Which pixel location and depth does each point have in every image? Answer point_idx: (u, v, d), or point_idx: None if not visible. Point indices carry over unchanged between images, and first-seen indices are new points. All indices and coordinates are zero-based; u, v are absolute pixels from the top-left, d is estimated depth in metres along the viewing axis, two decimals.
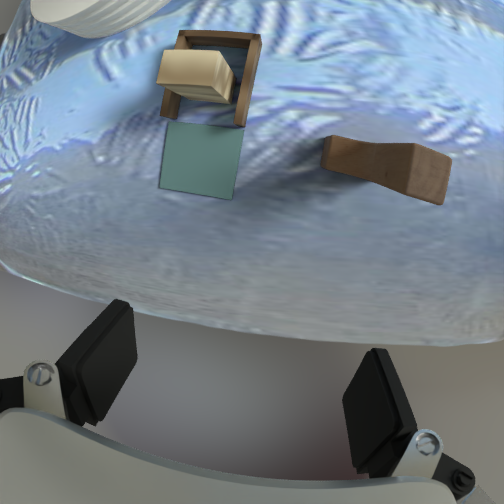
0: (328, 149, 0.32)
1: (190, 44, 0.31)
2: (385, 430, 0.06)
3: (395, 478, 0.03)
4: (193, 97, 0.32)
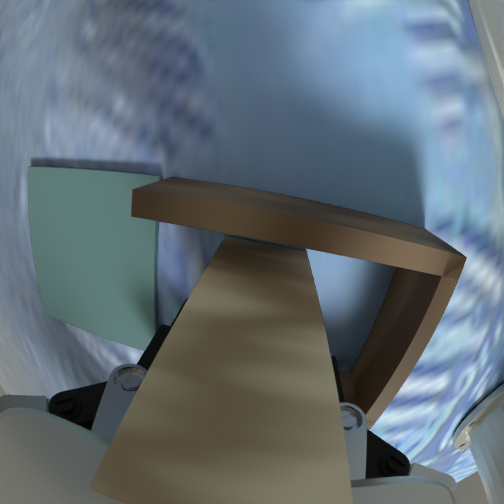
0: None
1: None
2: None
3: (395, 478, 0.03)
4: None
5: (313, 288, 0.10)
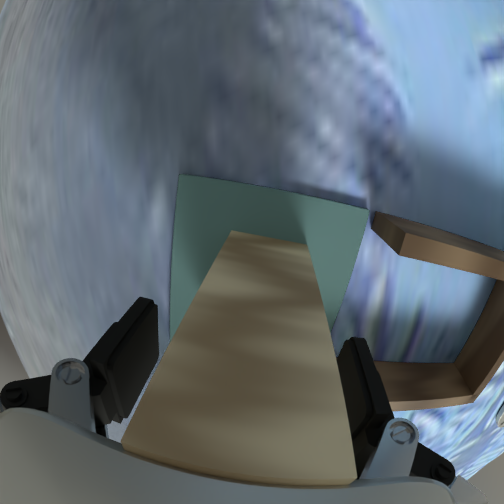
0: None
1: None
2: (359, 417, 0.07)
3: (395, 478, 0.03)
4: None
5: (313, 276, 0.11)
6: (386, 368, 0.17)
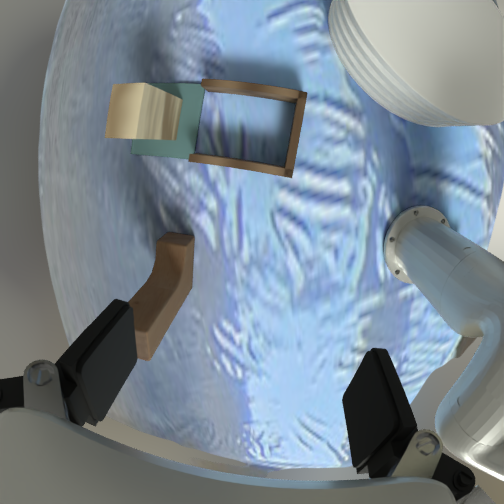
0: (173, 242, 0.37)
1: (294, 101, 0.32)
2: (385, 430, 0.06)
3: (395, 478, 0.03)
4: None
5: (172, 95, 0.30)
6: (229, 157, 0.36)
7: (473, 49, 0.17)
